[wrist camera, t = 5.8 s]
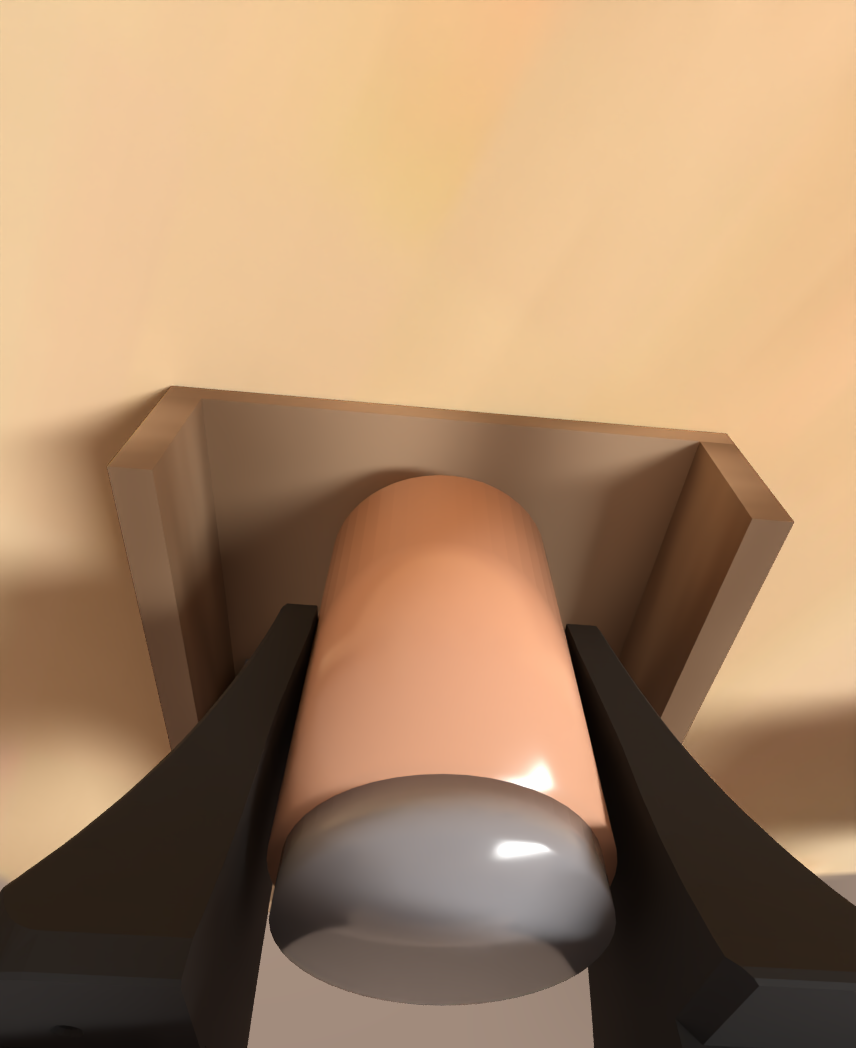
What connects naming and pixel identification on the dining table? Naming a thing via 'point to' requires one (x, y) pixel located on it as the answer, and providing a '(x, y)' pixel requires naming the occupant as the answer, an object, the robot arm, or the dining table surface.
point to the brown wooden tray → (424, 450)
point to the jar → (441, 764)
